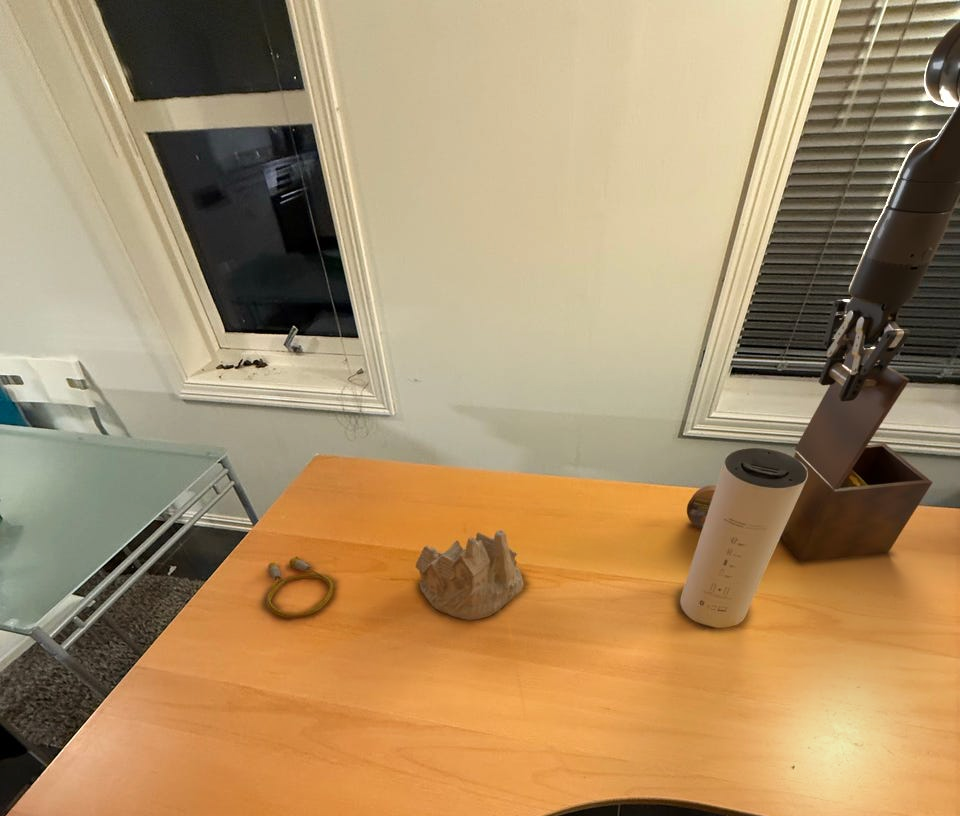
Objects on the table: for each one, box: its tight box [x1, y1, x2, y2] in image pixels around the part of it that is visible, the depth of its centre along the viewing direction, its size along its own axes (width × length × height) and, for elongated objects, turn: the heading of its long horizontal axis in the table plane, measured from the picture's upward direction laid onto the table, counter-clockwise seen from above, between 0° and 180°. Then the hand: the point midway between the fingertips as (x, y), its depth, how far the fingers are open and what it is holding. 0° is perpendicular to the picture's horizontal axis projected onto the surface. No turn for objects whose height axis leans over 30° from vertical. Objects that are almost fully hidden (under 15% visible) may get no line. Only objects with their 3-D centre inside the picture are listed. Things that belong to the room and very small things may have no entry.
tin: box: [686, 484, 717, 530], centre depth 100 cm, size 15×3×8 cm, turn 62°
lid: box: [794, 347, 911, 489], centre depth 83 cm, size 17×13×5 cm
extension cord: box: [266, 556, 334, 618], centre depth 97 cm, size 12×16×2 cm
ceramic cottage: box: [415, 529, 525, 621], centre depth 91 cm, size 16×16×15 cm
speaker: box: [679, 447, 808, 629], centre depth 80 cm, size 11×10×26 cm
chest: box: [780, 442, 933, 563], centre depth 95 cm, size 16×13×14 cm
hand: (835, 391), depth 80 cm, fingers closed on lid, 5 cm apart
